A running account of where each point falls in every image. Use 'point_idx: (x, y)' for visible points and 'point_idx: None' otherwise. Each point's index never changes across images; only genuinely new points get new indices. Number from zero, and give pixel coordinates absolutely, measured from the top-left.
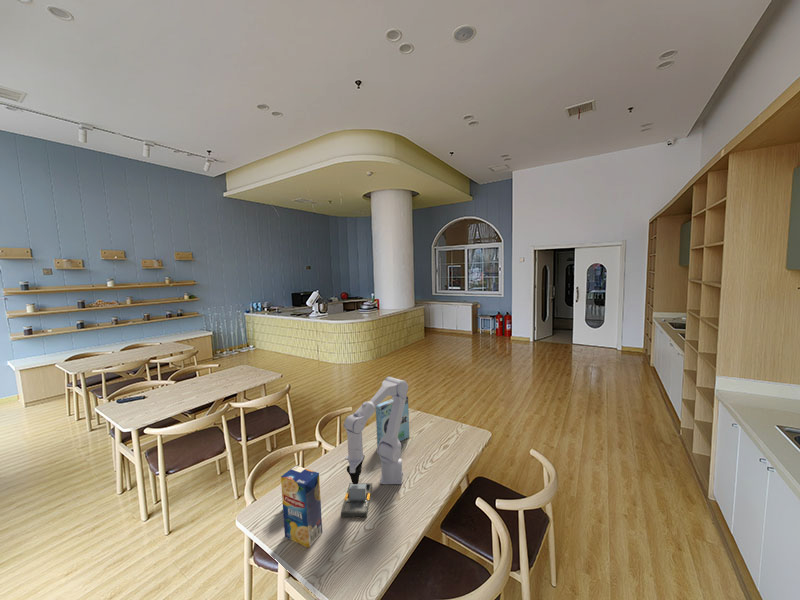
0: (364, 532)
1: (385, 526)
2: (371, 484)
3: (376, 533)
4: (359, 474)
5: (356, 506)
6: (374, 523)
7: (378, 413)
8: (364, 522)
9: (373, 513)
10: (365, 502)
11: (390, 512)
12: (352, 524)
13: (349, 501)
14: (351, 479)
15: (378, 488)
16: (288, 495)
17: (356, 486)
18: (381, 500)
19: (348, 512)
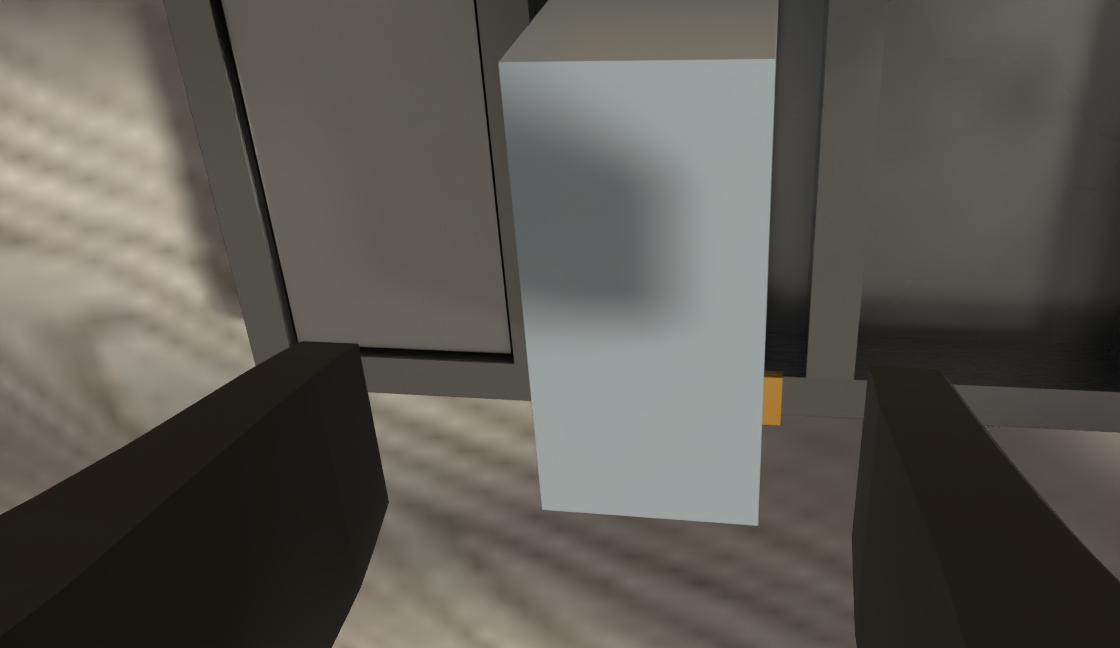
0: (26, 328)
1: None
2: (1115, 424)
3: (67, 475)
4: (854, 533)
5: (386, 178)
6: None
7: None
8: (197, 309)
9: (406, 424)
10: (511, 344)
11: (460, 633)
12: (102, 120)
13: None
14: (148, 440)
15: (1080, 481)
16: None
17: (616, 285)
18: (717, 529)
19: (176, 43)
